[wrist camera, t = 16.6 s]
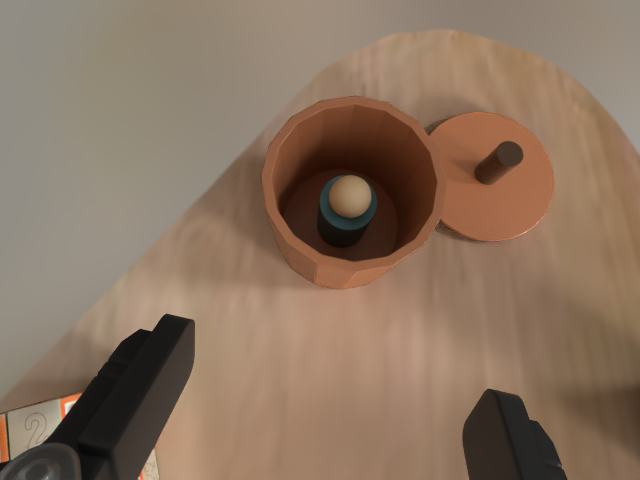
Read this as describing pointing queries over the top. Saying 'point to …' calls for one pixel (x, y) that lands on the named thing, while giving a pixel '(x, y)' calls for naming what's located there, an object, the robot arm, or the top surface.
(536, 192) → the lid
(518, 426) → the robot arm
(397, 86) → the top surface
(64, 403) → the colourful patterned box
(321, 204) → the toy doll
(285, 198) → the pot
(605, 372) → the top surface
